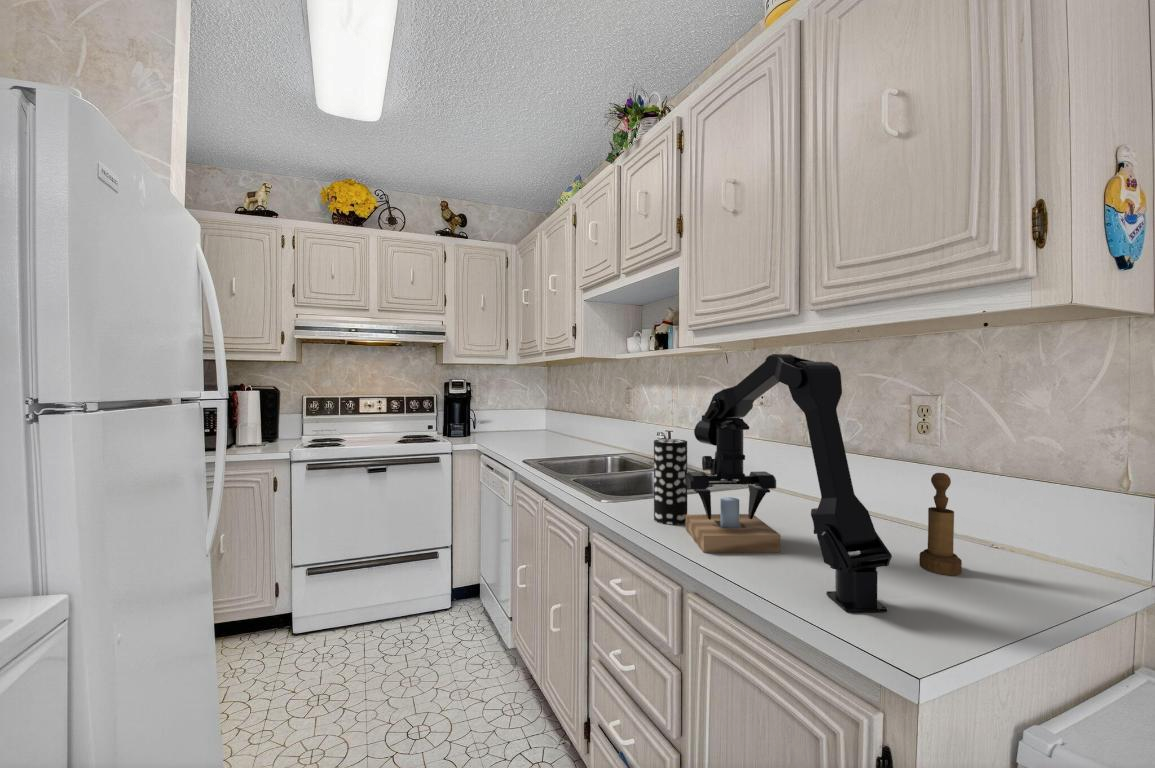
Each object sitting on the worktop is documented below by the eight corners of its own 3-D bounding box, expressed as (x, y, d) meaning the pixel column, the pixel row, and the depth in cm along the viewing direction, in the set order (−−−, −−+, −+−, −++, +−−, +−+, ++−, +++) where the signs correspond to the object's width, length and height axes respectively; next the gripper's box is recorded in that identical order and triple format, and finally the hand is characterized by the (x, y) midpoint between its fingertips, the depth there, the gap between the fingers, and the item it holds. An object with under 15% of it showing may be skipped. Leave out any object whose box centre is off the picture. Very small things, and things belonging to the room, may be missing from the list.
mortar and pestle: (969, 576, 92) (970, 477, 92) (929, 574, 93) (929, 476, 93) (950, 563, 98) (951, 470, 98) (913, 561, 100) (913, 469, 99)
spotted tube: (652, 523, 126) (652, 442, 126) (655, 514, 134) (655, 438, 134) (686, 525, 124) (686, 443, 124) (687, 516, 132) (687, 439, 132)
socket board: (780, 551, 105) (780, 534, 105) (703, 552, 105) (703, 535, 105) (752, 528, 121) (752, 514, 121) (685, 529, 121) (685, 514, 121)
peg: (741, 542, 111) (741, 501, 111) (723, 542, 111) (723, 501, 111) (735, 536, 115) (735, 497, 115) (718, 537, 115) (718, 497, 115)
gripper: (758, 443, 121) (758, 509, 121) (679, 444, 121) (679, 509, 121) (777, 450, 110) (777, 522, 110) (691, 451, 110) (691, 523, 110)
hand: (729, 518), depth 113 cm, fingers open, 9 cm apart
